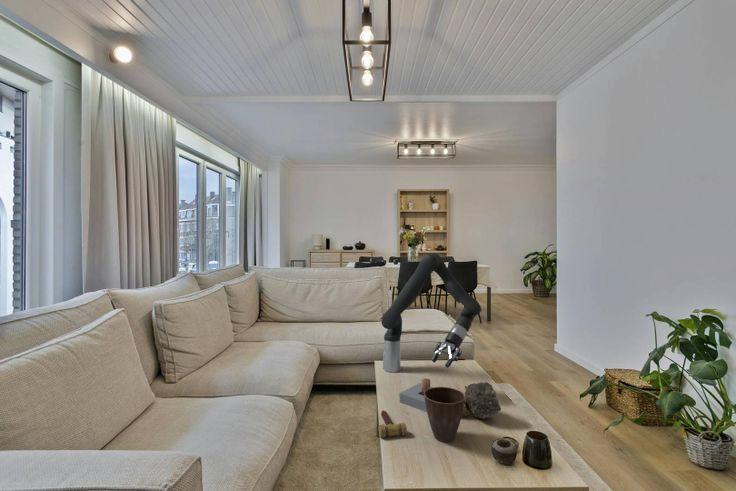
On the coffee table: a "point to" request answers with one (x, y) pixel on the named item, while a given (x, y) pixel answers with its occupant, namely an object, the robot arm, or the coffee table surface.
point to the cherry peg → (425, 385)
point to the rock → (480, 401)
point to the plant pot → (444, 411)
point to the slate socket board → (414, 397)
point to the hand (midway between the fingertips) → (439, 364)
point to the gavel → (391, 427)
